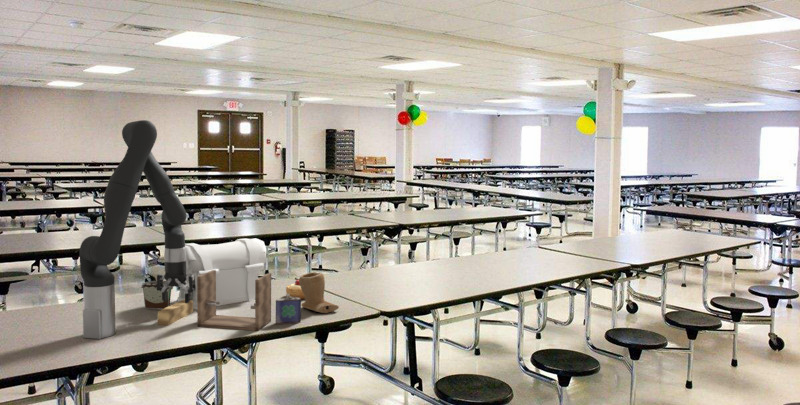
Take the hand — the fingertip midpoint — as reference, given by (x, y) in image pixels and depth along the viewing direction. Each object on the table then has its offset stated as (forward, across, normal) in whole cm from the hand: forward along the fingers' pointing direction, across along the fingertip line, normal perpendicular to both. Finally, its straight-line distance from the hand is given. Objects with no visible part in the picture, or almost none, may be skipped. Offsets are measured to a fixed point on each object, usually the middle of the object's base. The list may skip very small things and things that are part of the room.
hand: (176, 302), depth 226 cm
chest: (+7, +4, +28) cm, 29 cm away
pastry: (+7, +35, +41) cm, 54 cm away
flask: (+6, +42, +3) cm, 43 cm away
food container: (+6, -14, +12) cm, 19 cm away
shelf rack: (+6, +24, -3) cm, 25 cm away
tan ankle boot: (+7, +48, +22) cm, 53 cm away
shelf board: (+6, 0, -1) cm, 6 cm away
